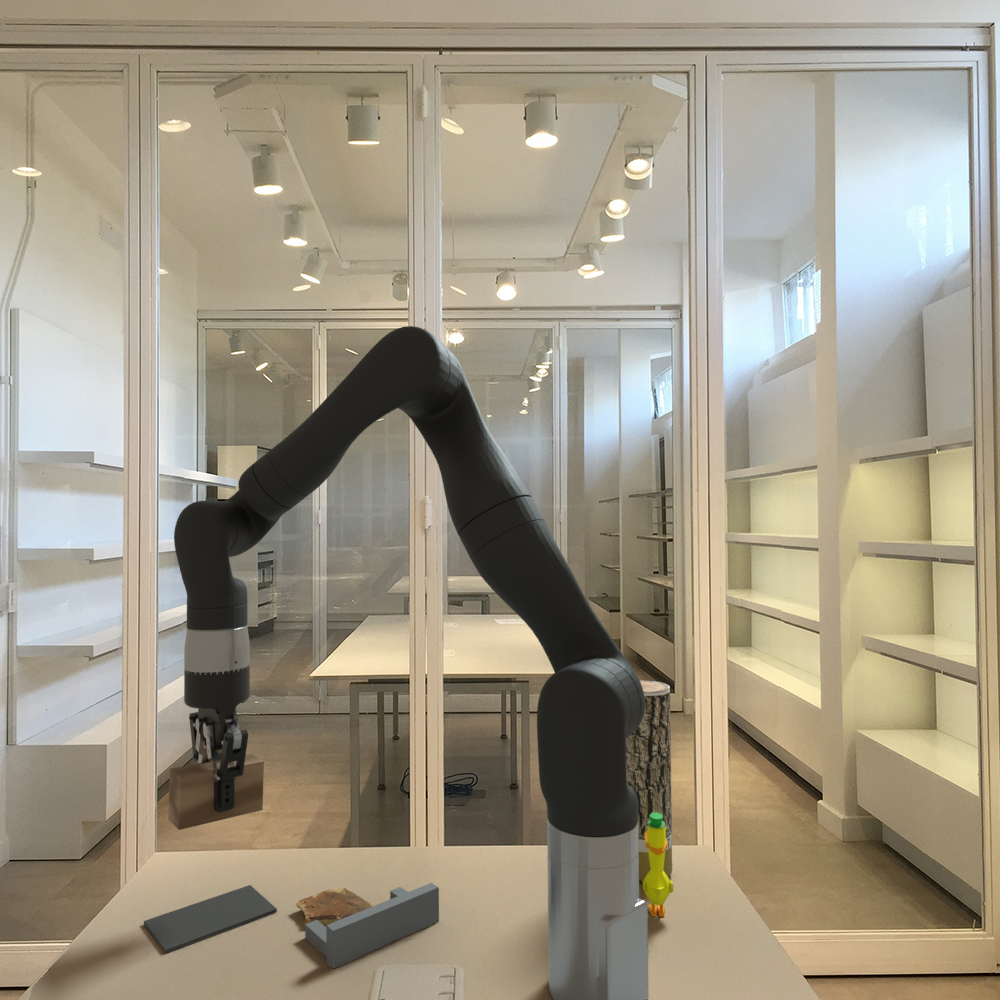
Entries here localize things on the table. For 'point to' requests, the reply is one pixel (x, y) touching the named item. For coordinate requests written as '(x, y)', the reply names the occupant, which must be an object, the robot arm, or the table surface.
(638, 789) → the bark log stump
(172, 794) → the block
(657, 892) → the toy figure
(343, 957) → the dock
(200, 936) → the rest mat
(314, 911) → the shard
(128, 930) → the table surface
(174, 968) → the table surface
